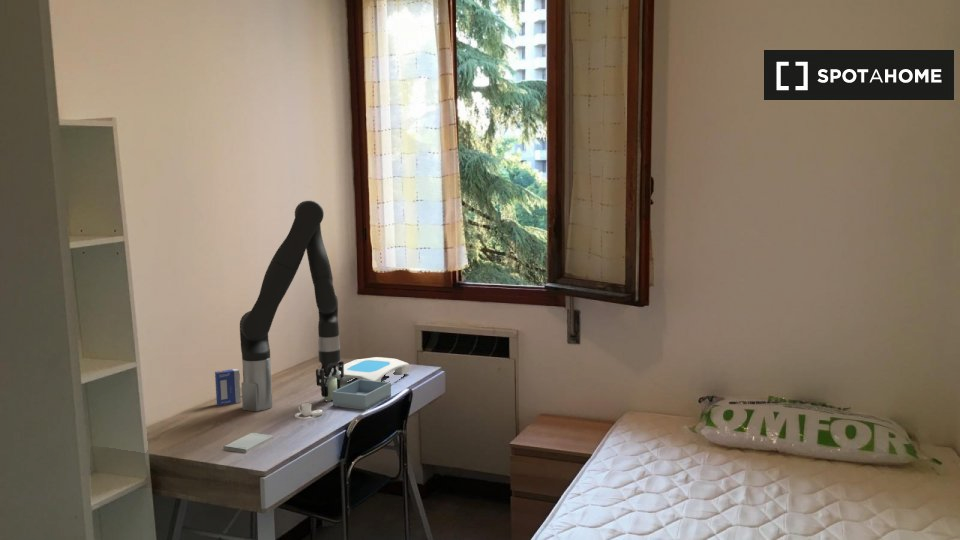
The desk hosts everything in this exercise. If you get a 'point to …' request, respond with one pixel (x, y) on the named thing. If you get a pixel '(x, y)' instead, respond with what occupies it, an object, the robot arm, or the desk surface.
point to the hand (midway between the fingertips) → (331, 393)
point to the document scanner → (372, 369)
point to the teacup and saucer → (307, 411)
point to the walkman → (227, 387)
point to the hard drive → (248, 442)
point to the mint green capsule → (331, 388)
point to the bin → (361, 394)
